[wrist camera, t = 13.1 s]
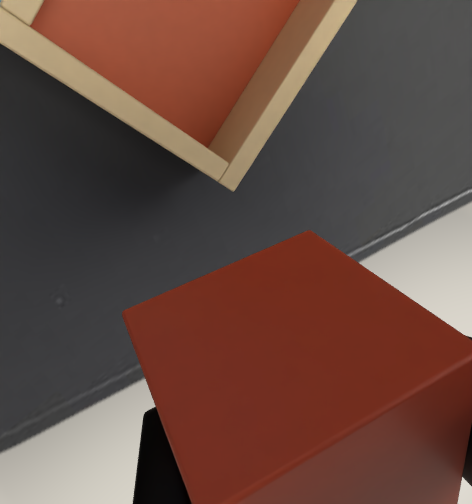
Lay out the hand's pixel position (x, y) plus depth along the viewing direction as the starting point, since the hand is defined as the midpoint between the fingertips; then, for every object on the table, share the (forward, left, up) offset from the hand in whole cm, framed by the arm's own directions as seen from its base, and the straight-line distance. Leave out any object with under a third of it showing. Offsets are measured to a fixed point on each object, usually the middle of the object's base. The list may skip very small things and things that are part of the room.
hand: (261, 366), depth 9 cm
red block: (0, 0, -1) cm, 1 cm away
